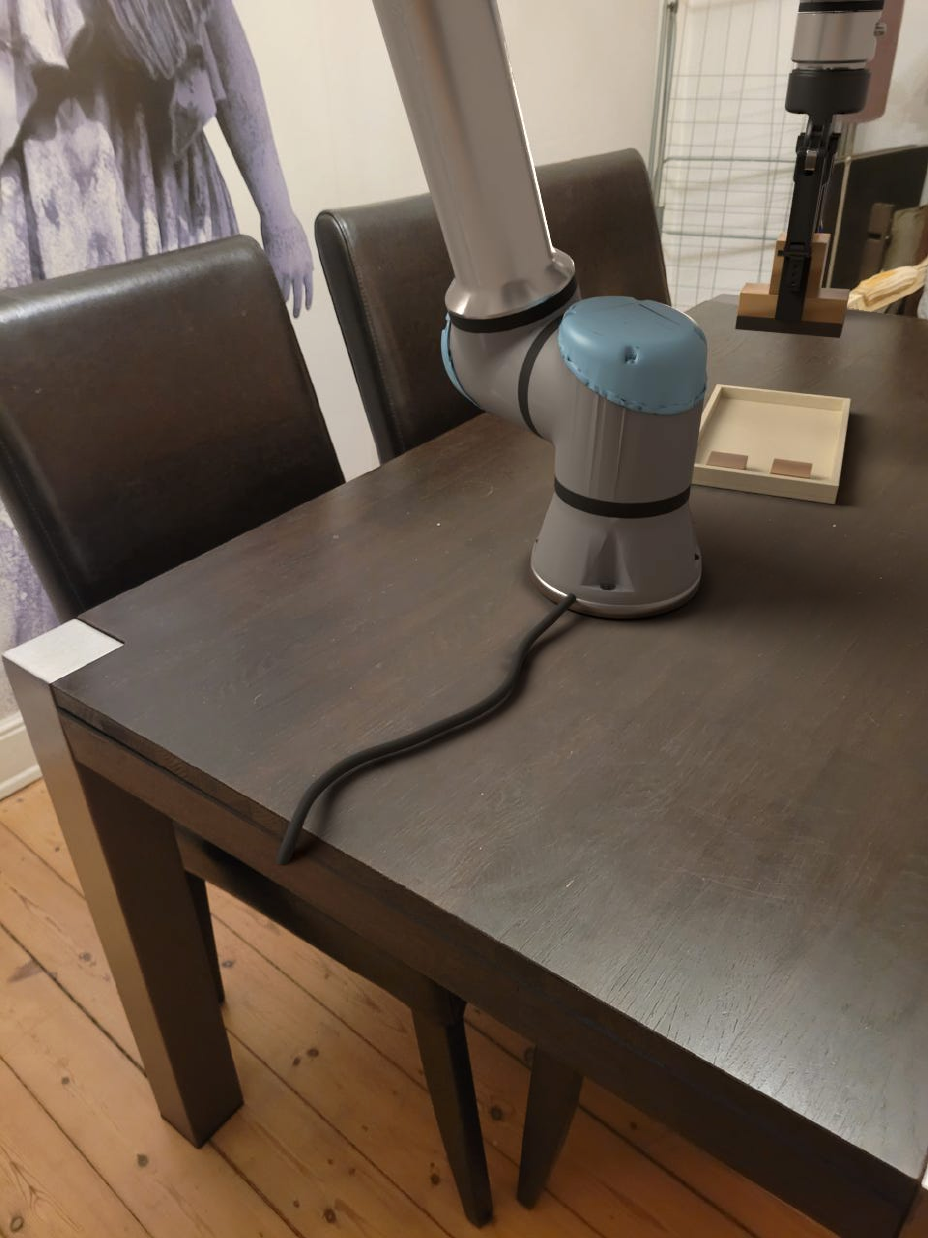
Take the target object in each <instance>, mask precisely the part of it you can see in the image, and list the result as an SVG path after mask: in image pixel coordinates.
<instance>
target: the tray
mask: <svg viewBox="0 0 928 1238" xmlns="http://www.w3.org/2000/svg"><path fill="white" fill-rule="evenodd" d="M709 397H710V398H709V399H708V401H707V403H706V404H705V405H706V406H705V407H704V409H703V410H702V416H701V423H700V430H699V437H698V443H697V450H696V457H695V464H694V470H693V477H692V483H691V485H696V486H703V487H711V488H717V489H726V490H732V491H739V492H746V493H751V494H752V493H753V494H759V495H766V496H773V497H781V498H787V499H795V500H802V501H808V502H815V503H822V504H829V505H835V504H836V500H837V495H838V490H839V488H840V487H839V486H840V480H841V472H842V466H843V458H844V451H845V443H846V437H847V432H848V431H847V429H848V425H849V424H848V422H849V416H850V408H851V401H852V399H851V398H850V397H849V398H848V397H847V398H846V397H839V396H830V395H829V396H828V395H822V394H812V393H804V392H803V393H801V392H793V391H784V390H775V389H774V390H773V389H764V388H757V387H756V388H755V387H747V386H737V385H727V384H719V383H718V384H716V385H715V387H714V389H713V391H712V393H711V396H709ZM712 451H716V452H723V453H731V454H739V455H746V456H748V462H747V468H746V470H739V469H731V468H724V467H717V466H709V465H706V463H707V461H708V458H709V456H710V454H711V452H712ZM774 459H783V460H791V461H798V462H806V463H812V464H813V465H812V469H811V474H810V479H805V478H797V477H790V476H783V475H775V474H770V471H771V468H772V465H773V461H774Z"/></svg>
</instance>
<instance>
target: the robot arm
mask: <svg viewBox="0 0 928 1238" xmlns="http://www.w3.org/2000/svg"><path fill="white" fill-rule="evenodd" d="M885 1H886V0H799V2H798V3H799V4H798V9H797V13H796V19H795V25H794V33H793V40H792V47H791V54H790V60H791V62H792V63H794V64H795V63H796V64H795V68H793V69H791V72H789V73H788V79H787V85H786V93H785V100H784V110H785V111H786V112H787V113H789V114H793V115H807V116H808V117H807V118H808V120H807V123H806V129H805V131H800V133H799V134H798V135H797V137H796V141H795V143H796V144H795V149H794V152H795V154H796V157H795V164H794V171H793V176H792V179H793V183H794V185H793V190H792V198H791V204H790V210H789V215H788V222H787V223H788V224H787V228H786V232H787V236H786V242H785V245H784V247H783V250H778V254H777V256H779V257H784V261H783V267H782V274H781V280H780V287H779V293H778V299H777V306H776V312H775V320H787V321H800V322H801V318H802V313H803V307H804V301H805V295H806V289H807V283H808V277H809V272H810V266H811V260H812V256H810V255H812V250H813V249H812V243H813V238H814V233H819V232H820V231H821V227H822V226H823V225H822V226H821V220H822V218H823V213H824V206H825V201H826V196H827V190H828V184H829V182H830V180H831V178H832V176H833V173H834V170H835V169H834V168H835V163H836V156H837V153H838V152H839V150H840V146H841V141H842V136H843V133H842V132H837V131H835V130H836V124H837V117H838V116H839V115H840V116H841V115H842V116H846V115H854V114H855V115H856V114H858V113H861V112H862V111H864V110H865V108H866V106H867V100H868V96H869V89H870V83H871V80H872V74H873V72H872V71H871V68H870V67H866V66H867V65H866V64H867V62H871V61H872V60H873V59H874V58H875V53H876V48H877V43H878V40H877V38H876V36H884V35H885V34H886V33H887V29H888V27H887V23H884V22H878V21H879V20H880V19H881V18H882V16H883V15H882V14H883V10H884V6H885ZM371 2H372V5H373V8H374V9H373V10H374V11H375V15H376V18H377V22H378V25H379V28H380V31H381V35H382V39H383V42H384V44H385V49H386V51H387V54H388V55H387V56H388V58H389V61H390V64H391V69H392V71H393V74H394V78H395V82H396V84H397V88H398V91H399V94H400V97H401V98H400V99H401V102H402V105H403V107H404V111H405V115H406V118H407V121H408V124H409V127H410V131H411V134H412V138H413V141H414V144H415V148H416V151H417V154H418V157H419V161H420V164H421V167H422V171H423V175H424V177H425V181H426V184H427V187H428V191H429V194H430V198H431V200H432V204H433V207H434V211H435V214H436V217H437V220H438V224H439V227H440V230H441V233H442V234H441V235H442V238H443V240H444V243H445V246H446V250H447V253H448V257H449V260H450V263H451V267H452V270H453V274H454V278H453V279H452V281H451V283H450V285H449V286H448V288H447V290H446V291H445V295H444V303H445V307H446V311H447V313H446V316H445V320H446V325H445V328H444V329H442V330H441V338H440V339H441V340H440V348H441V357H442V362H443V365H444V369H445V371H446V373H447V376H448V377H449V379H450V381H451V382H452V384H453V385H454V387H455V388H456V389H457V390H458V392H459V393H460V394H462V395H463V396H464V397H465V398H466V399H468V400H469V401H470V402H472V403H473V405H475V407H476V406H477V407H478V408H479V409H480V410H482V411H484V412H485V413H487V414H489V415H493V416H496V417H499V418H500V419H502V420H504V421H505V422H508V423H510V424H511V425H514V426H516V427H518V428H520V429H523V431H526V432H528V433H530V434H532V435H534V436H536V437H538V438H540V439H542V440H544V441H546V442H549V443H550V444H552V445H554V447H555V448H554V449H555V450H554V451H555V453H554V454H555V455H554V478H553V479H554V480H553V494H552V498H551V501H550V503H549V506H548V509H547V512H546V514H545V517H544V521H543V523H542V526H541V529H540V532H539V534H538V535H537V536H536V539H535V541H534V543H533V545H532V550H531V555H530V571H529V572H530V577H531V581H532V583H533V584H534V587H536V589H537V590H538V591H539V592H540V593H541V594H542V595H543V596H544V597H546V598H548V599H549V600H550V601H552V602H554V603H556V604H557V605H556V606H555V607H554V608H552V610H551V611H549V612H548V614H547V615H545V616H544V618H543V619H542V620H540V622H538V623H537V624H536V625H535V626H534V627H533V628H532V629H531V630H530V631H529V632H528V633H527V634H526V635H525V636H524V638H523V639H522V641H521V642H520V643H519V645H518V647H517V649H516V651H515V652H514V654H513V657H512V660H511V663H510V666H509V669H508V673H507V675H506V677H505V678H504V680H503V682H502V683H501V684H500V685H499V686H498V687H497V688H496V689H495V690H494V691H493V692H492V693H491V694H489V695H487V697H485V698H484V699H482V700H480V701H479V702H478V703H475V704H473V705H472V706H470V707H468V708H466V709H464V710H462V711H459V712H457V713H455V714H453V715H450V716H447V717H446V718H443V719H441V720H438V721H436V722H434V723H431V724H429V725H427V726H425V727H423V728H421V729H419V730H416V731H413V732H412V733H409V734H407V735H404V736H401V737H398V738H395V739H392V740H388V741H386V742H383V743H379V744H377V745H373V746H371V747H367V748H365V749H363V750H360V751H357V752H355V753H353V754H351V755H349V756H347V757H344V758H343V759H341V760H340V761H339V762H337V763H335V764H334V765H332V766H331V767H330V768H328V770H326V771H325V772H323V774H321V775H320V776H319V777H318V778H317V779H316V780H314V782H313V783H312V784H311V785H310V786H309V787H308V788H307V789H306V791H305V792H304V793H303V795H302V796H301V798H300V800H299V802H298V804H297V806H296V808H295V810H294V812H293V814H292V817H291V819H290V822H289V824H288V826H287V829H286V832H285V835H284V837H283V839H282V842H281V846H280V848H279V852H278V854H277V857H276V861H275V862H276V864H277V865H278V866H285V865H287V864H289V863H290V861H291V860H292V857H293V854H294V851H295V849H296V845H297V844H298V841H299V837H300V835H301V832H302V830H303V826H304V824H305V822H306V819H307V817H308V814H309V812H310V810H311V808H312V806H313V805H314V803H315V802H316V800H317V799H318V798H319V796H320V795H321V794H322V793H323V792H324V791H325V790H326V789H327V788H329V786H330V785H332V784H333V783H335V781H337V780H338V779H339V778H340V777H342V776H343V775H344V774H347V773H348V772H349V771H351V770H352V769H353V770H354V769H355V768H357V767H358V766H361V765H363V764H365V763H367V762H370V761H373V760H376V759H378V758H382V757H384V756H388V755H391V754H394V753H396V752H400V751H402V750H405V749H408V748H410V747H414V746H416V745H418V744H421V743H424V742H426V741H428V740H430V739H432V738H434V737H436V736H438V735H440V734H443V733H445V732H447V731H450V730H452V729H454V728H457V727H459V726H461V725H463V724H465V723H467V722H470V721H472V720H474V719H476V718H477V717H479V716H481V715H483V714H485V713H487V712H488V711H489V710H491V709H492V708H494V707H495V706H497V705H498V704H499V703H500V702H502V701H503V699H505V698H506V696H508V694H510V692H511V691H512V689H513V688H514V686H515V685H516V683H517V680H518V678H519V676H520V673H521V670H522V667H523V663H524V660H525V657H526V655H527V653H528V652H529V650H530V649H531V648H532V646H533V645H534V644H535V643H536V641H537V640H538V639H539V638H540V637H541V636H542V635H544V633H545V632H546V631H548V629H550V627H551V626H552V625H554V624H555V623H556V622H557V621H558V619H560V617H561V616H562V615H563V614H565V613H566V612H567V610H568V609H569V610H571V611H574V612H577V613H580V614H585V615H588V616H594V617H600V618H606V619H641V618H648V617H649V618H650V617H655V616H658V615H663V614H665V613H669V612H671V611H674V610H676V609H678V608H680V607H683V606H684V605H685V604H688V603H689V601H691V600H692V599H693V598H694V597H695V595H696V594H697V592H698V590H699V587H700V583H701V576H702V570H703V569H702V556H701V551H700V547H699V546H698V543H697V541H698V540H697V534H696V528H695V524H694V519H693V515H692V510H691V506H690V499H691V490H692V484H691V483H692V477H693V470H694V464H695V457H696V450H697V443H698V437H699V430H700V423H701V416H702V413H703V411H704V409H703V408H704V401H705V397H706V391H707V389H708V388H707V387H708V386H707V384H708V371H707V363H708V340H707V338H706V335H705V332H704V330H703V329H702V327H701V326H700V325H699V323H697V322H696V321H695V319H693V318H692V317H691V316H690V315H688V314H687V313H684V312H683V311H681V310H678V308H675V307H672V306H671V305H667V304H665V303H663V302H659V301H655V300H651V299H644V300H639V299H636V298H635V297H632V296H623V295H603V296H594V297H588V298H584V299H582V295H581V290H580V285H579V281H578V275H577V272H576V267H575V263H574V260H573V258H572V257H571V256H570V255H568V254H567V253H565V252H564V251H562V250H560V249H558V248H556V247H554V246H553V245H552V241H551V237H550V232H549V228H548V224H547V220H546V215H545V210H544V205H543V201H542V196H541V192H540V187H539V183H538V179H537V175H536V170H535V165H534V160H533V156H532V153H531V148H530V143H529V139H528V138H529V137H528V135H527V130H526V125H525V120H524V116H523V111H522V108H521V107H522V106H521V103H520V98H519V94H518V91H517V85H516V80H515V76H514V72H513V67H512V64H511V59H510V58H511V57H510V53H509V50H508V45H507V41H506V36H505V32H504V28H503V23H502V18H501V14H500V10H499V6H498V0H371Z"/></svg>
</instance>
